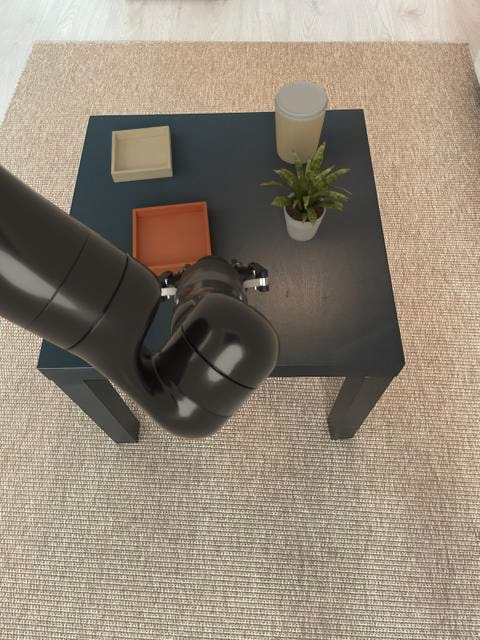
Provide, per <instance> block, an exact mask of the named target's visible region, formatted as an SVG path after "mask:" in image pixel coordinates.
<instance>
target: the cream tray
mask: <svg viewBox="0 0 480 640" xmlns="http://www.w3.org/2000/svg"><path fill="white" fill-rule="evenodd" d="M170 129H171V128H170V125H163V126H162V125H161V126H152V127H143V128H132V129H122V130H113V131H111V163H110V164H111V166H110V169H111V170H110V172H111V173H110V175H111V177H112V179H113V183H123V182H124V183H125V182H131V181H133V182H134V181H141V180H142V181H143V180H152V179H153V180H155V179H162V178H171V177H172V178H173V177H174V174H173V172H174V171H173V170H174V169H173V153H172V136H171V130H170Z"/></svg>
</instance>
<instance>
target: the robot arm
mask: <svg viewBox="0 0 480 640" xmlns="http://www.w3.org/2000/svg"><path fill="white" fill-rule="evenodd" d="M230 261H231V263H229V264H227V263H225V262H223V261H220V260H215V259H207V260H202V261H199V262H196V263H194V264H193V265H191V264H185V267H183V268H180V269H178V273H176V274H173V271H169V270H168V271H166V272H163V273H162V274H161V275H160V276H157V275H156V274H155V273H154V272H153V271H152V270H151V269H150V268H148V267H147V266H146V265H144V264H143V263H141V262H140V261H139V260H137V259H136V258H134V257H133V255H131V254H129V253H128V252H127V251H125V250H124V249H122V248H121V247H119V246H117V245H116V244H115V243H113V242H112V241H110V240H108V239H107V238H106V237H105V236H102V235H101V234H99V233H98V232H96V231H95V230H93V229H92V228H90V227H89V226H87V225H86V224H85V223H83V222H82V221H80V220H78V219H77V218H75V217H74V216H72V215H71V214H69V213H68V212H66V211H65V210H63V209H61V208H60V207H59V206H57V205H56V204H54V203H53V202H52V201H50V200H49V199H47V197H45V196H43V195H41V193H39V192H38V191H36V190H35V189H34V188H32V187H31V186H29V185H28V184H27V183H26V182H24V180H22V179H20V178H19V177H17V176H16V175H15V174H14V173H12V172H11V171H10V170H9V169H8V168H6V167H5V166H4V165H2V164H1V163H0V317H1V318H3V319H4V320H6V321H8V322H9V323H11V324H14V325H16V326H18V327H19V328H21V329H24V330H26V331H27V332H30V333H31V334H33V335H35V336H37V337H39V338H41V339H43V340H45V341H47V342H49V343H51V344H52V345H55V346H57V347H58V348H60V349H62V350H65V351H67V352H68V353H70V354H72V355H74V356H76V357H79V358H80V359H81V360H83V361H84V362H86V363H87V364H89V365H90V366H91V367H92V368H94V369H95V370H96V371H97V372H99V373H100V374H101V375H102V376H103V377H104V378H106V379H107V380H108V381H110V383H112V384H113V385H114V386H116V388H118V389H119V390H120V391H121V392H122V393H123V394H125V395H126V397H128V398H129V399H130V400H131V401H132V402H133V403H134V404H135V405H136V406H137V407H138V408H139V409H140V410H141V411H142V412H143V413H144V414H145V415H146V416H147V417H148V418H149V419H150V420H151V421H152V422H153V423H155V424H156V425H157V426H158V427H159V428H161V429H162V430H163V431H164V432H166V433H167V434H170V435H172V436H174V437H176V438H180V439H185V440H202V439H205V438H209V437H212V436H214V435H215V434H216V433H218V432H219V431H220V430H221V429H222V428H223V427H224V426H225V425H226V424H227V423H228V422H229V421H230V420H231V418H232V417H233V416H234V415H235V414H236V413H237V412H238V411H239V410H240V408H241V407H242V406H243V405H244V404H245V403H246V402H247V400H248V399H249V398H250V397H251V396H252V395H253V393H255V392H256V390H257V389H258V388H259V387H260V386H261V385H262V384H263V383H264V382H265V381H266V379H267V378H268V377H269V376H270V375H271V373H273V370H274V369H275V367H276V365H277V363H278V361H279V357H280V353H281V340H280V337H279V334H278V332H277V330H276V329H275V327H274V326H273V324H272V323H271V321H270V320H269V319H268V318H267V317H266V316H265V315H264V314H263V313H262V312H260V310H258V309H257V308H256V307H254V306H253V305H251V304H250V303H249V301H248V296H247V291H248V290H249V288H253V290H254V291H258V292H260V293H267V292H270V280H269V270H268V269H267V268H266V267H264V266H262V265H261V264H260V263H258V262H255V261H251V262H249V263H247V266H246V265H245V266H244V263H243V262H242V261H238V260H237V258H234V259H233V258H232V259H231V260H230ZM172 296H174V297H173V301H172V314H171V317H170V318H171V319H170V325H169V328H170V331H169V333H170V336H169V338H168V339H166V340H165V343H163V344H162V346H161V347H160V348H159V350H158V351H157V352H156V351H154V350H151V349H150V348H149V347H147V346H146V345H145V341H146V338H147V336H148V334H149V333H150V332H149V331H150V330H151V327H152V325H153V323H154V321H155V318H156V316H157V314H158V311H159V309H160V306H161V303H164V302H166V300H170V299H171V298H172Z"/></svg>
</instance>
